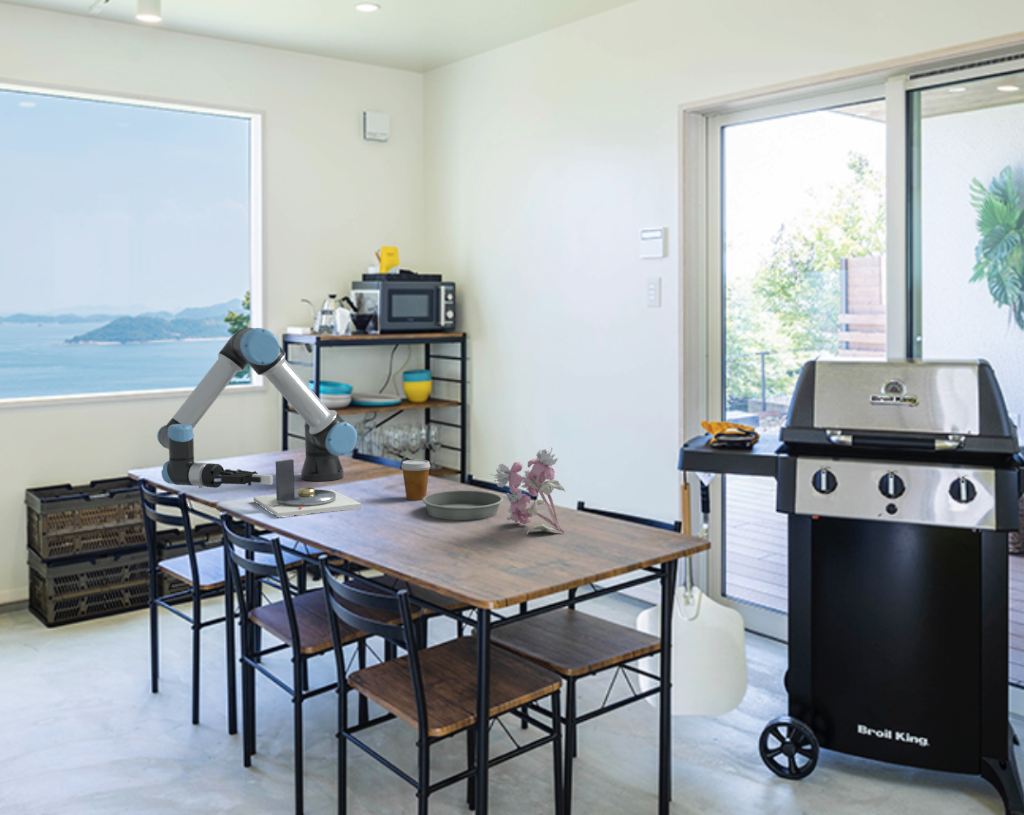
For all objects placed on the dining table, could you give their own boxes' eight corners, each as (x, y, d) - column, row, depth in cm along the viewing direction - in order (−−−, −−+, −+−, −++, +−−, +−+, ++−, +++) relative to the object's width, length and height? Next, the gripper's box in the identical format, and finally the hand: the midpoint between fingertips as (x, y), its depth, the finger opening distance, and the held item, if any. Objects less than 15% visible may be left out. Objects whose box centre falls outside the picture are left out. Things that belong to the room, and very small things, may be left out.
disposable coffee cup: (433, 495, 310) (432, 459, 308) (427, 501, 300) (427, 464, 299) (404, 495, 310) (404, 459, 309) (398, 501, 301) (398, 464, 300)
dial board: (331, 493, 313) (331, 488, 312) (361, 508, 290) (361, 502, 290) (253, 502, 299) (253, 496, 299) (278, 518, 277) (278, 512, 277)
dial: (312, 491, 307) (311, 451, 306) (347, 499, 295) (346, 457, 294) (261, 500, 293) (260, 458, 291) (295, 509, 281) (294, 465, 279)
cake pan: (430, 524, 271) (430, 508, 270) (416, 506, 295) (416, 492, 294) (512, 519, 278) (512, 504, 277) (492, 502, 301) (492, 488, 301)
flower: (581, 514, 275) (544, 438, 275) (590, 524, 253) (550, 441, 252) (520, 544, 275) (482, 468, 274) (523, 557, 252) (482, 474, 252)
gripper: (220, 483, 304) (283, 487, 296) (194, 490, 292) (259, 495, 284) (220, 460, 303) (283, 464, 295) (193, 466, 291) (258, 471, 283)
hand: (271, 479), depth 289 cm, fingers closed
